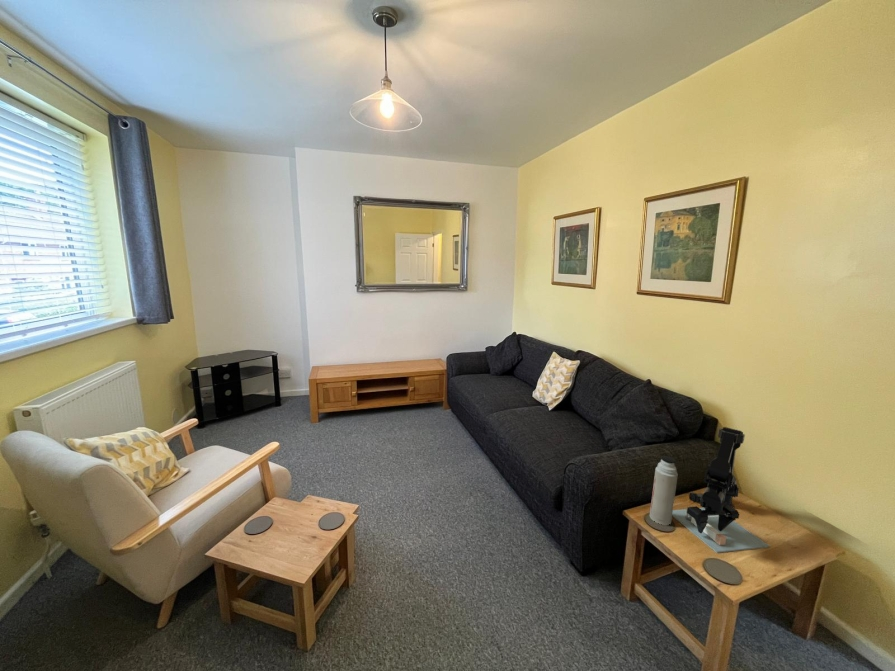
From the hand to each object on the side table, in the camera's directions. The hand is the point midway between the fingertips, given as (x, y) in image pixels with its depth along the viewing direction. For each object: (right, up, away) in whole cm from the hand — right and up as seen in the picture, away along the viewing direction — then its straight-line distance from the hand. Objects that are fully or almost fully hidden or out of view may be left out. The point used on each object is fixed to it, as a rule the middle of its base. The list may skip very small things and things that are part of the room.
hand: (709, 531), depth 139 cm
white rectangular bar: (0, -1, +1) cm, 2 cm away
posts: (+6, -1, +13) cm, 14 cm away
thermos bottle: (-14, -1, +10) cm, 17 cm away
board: (+6, -2, +5) cm, 8 cm away
